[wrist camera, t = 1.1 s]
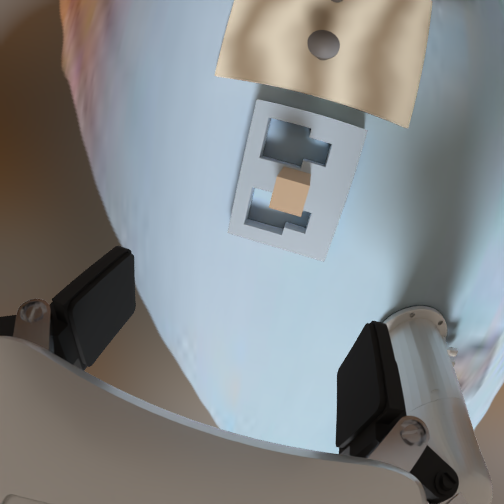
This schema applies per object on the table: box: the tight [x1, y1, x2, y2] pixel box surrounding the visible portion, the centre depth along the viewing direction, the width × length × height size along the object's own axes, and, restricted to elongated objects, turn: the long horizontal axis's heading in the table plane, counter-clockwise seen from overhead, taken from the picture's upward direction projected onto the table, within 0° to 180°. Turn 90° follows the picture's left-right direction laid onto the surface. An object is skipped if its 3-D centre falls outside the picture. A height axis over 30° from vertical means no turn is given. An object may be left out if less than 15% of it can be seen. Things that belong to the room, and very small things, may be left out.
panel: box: [228, 99, 368, 262], centre depth 29 cm, size 12×16×8 cm
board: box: [215, 0, 432, 128], centre depth 21 cm, size 22×18×6 cm
